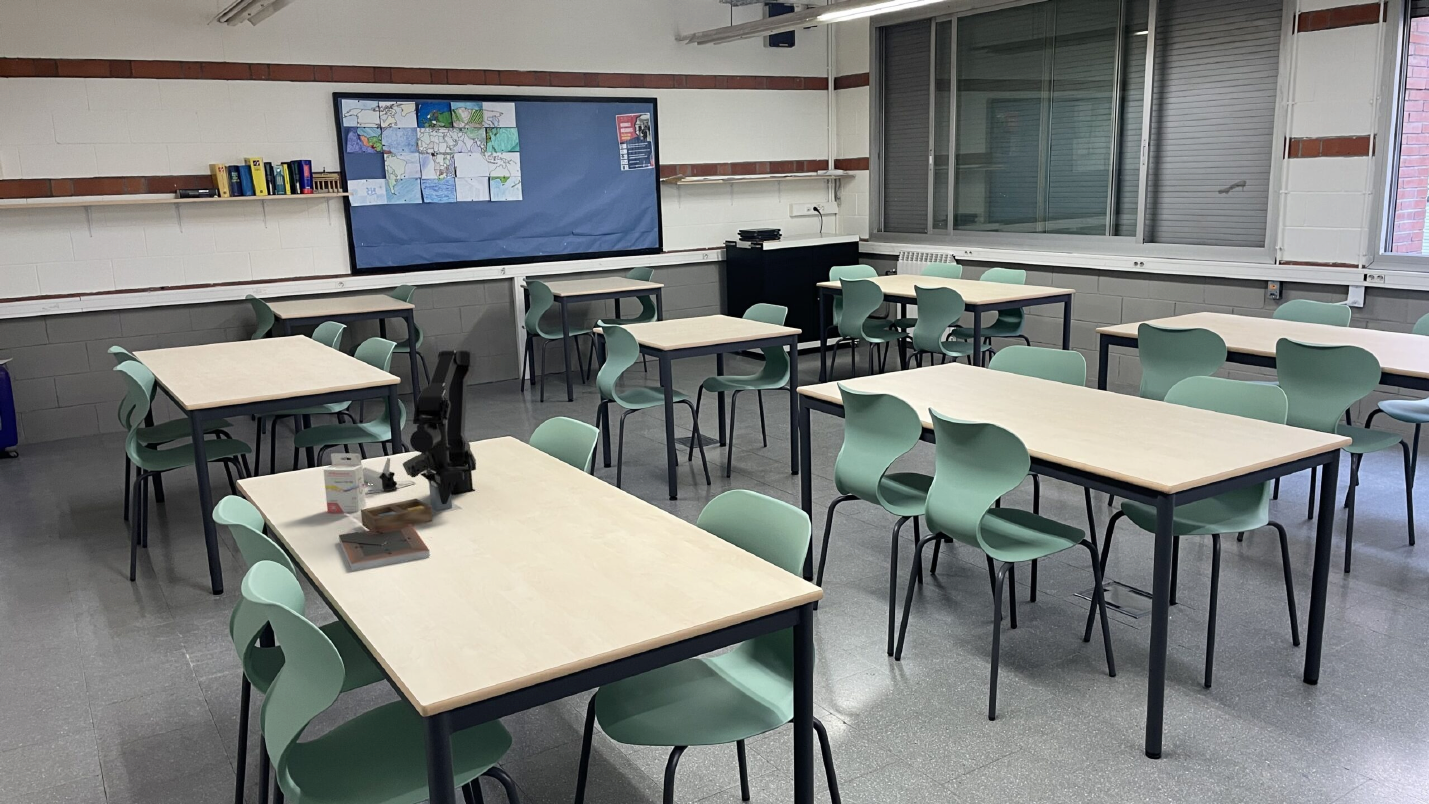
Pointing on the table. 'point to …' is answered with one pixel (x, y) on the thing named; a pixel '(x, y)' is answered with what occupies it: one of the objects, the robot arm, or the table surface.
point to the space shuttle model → (382, 480)
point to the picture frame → (382, 546)
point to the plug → (438, 498)
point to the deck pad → (454, 507)
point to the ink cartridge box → (345, 484)
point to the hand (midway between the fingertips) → (441, 502)
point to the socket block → (396, 514)
